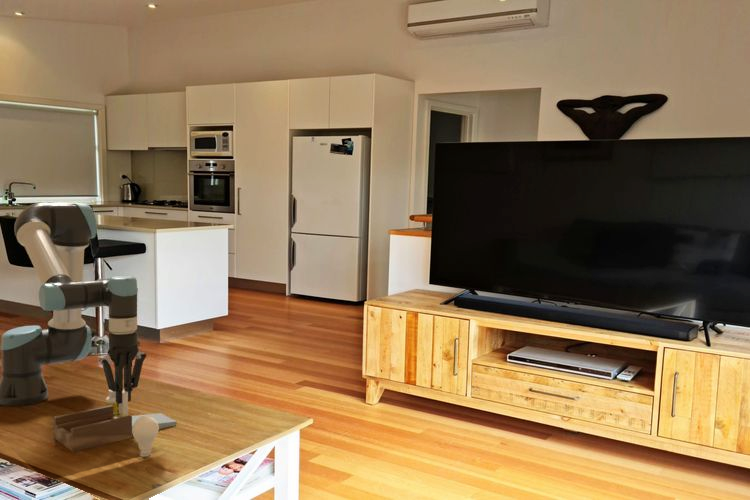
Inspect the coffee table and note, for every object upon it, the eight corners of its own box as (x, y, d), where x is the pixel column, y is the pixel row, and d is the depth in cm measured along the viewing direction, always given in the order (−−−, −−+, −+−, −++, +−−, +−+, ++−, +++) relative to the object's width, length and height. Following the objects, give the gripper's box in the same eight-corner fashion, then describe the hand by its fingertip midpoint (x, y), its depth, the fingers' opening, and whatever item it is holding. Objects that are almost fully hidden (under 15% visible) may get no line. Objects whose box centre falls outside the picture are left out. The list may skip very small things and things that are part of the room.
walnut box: (54, 441, 186) (54, 416, 186) (111, 428, 198) (111, 405, 197) (73, 455, 177) (72, 429, 177) (132, 441, 188) (131, 416, 188)
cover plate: (115, 424, 196) (115, 417, 196) (160, 419, 206) (160, 413, 206) (130, 433, 190) (130, 426, 190) (175, 428, 199) (176, 421, 199)
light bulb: (135, 453, 180) (135, 412, 179) (161, 453, 181) (161, 412, 180) (128, 463, 173) (128, 421, 173) (155, 462, 174) (155, 421, 173)
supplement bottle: (118, 425, 200) (118, 392, 200) (101, 423, 201) (101, 391, 201) (128, 419, 206) (128, 387, 205) (112, 417, 207) (112, 386, 206)
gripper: (105, 336, 184) (106, 422, 186) (151, 330, 193) (151, 412, 195) (94, 332, 189) (94, 415, 191) (139, 326, 198) (139, 405, 200)
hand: (123, 413), depth 193 cm, fingers closed
